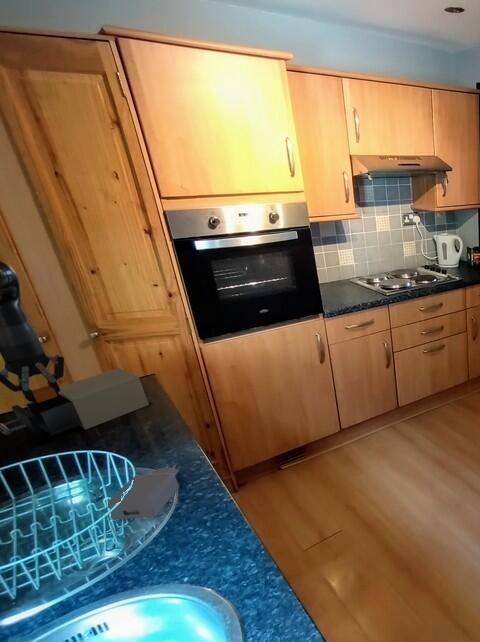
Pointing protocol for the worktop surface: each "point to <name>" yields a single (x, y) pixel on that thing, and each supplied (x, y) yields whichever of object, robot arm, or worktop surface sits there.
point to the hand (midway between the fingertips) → (44, 397)
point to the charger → (145, 494)
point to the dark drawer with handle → (45, 418)
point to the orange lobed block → (44, 393)
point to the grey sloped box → (105, 396)
